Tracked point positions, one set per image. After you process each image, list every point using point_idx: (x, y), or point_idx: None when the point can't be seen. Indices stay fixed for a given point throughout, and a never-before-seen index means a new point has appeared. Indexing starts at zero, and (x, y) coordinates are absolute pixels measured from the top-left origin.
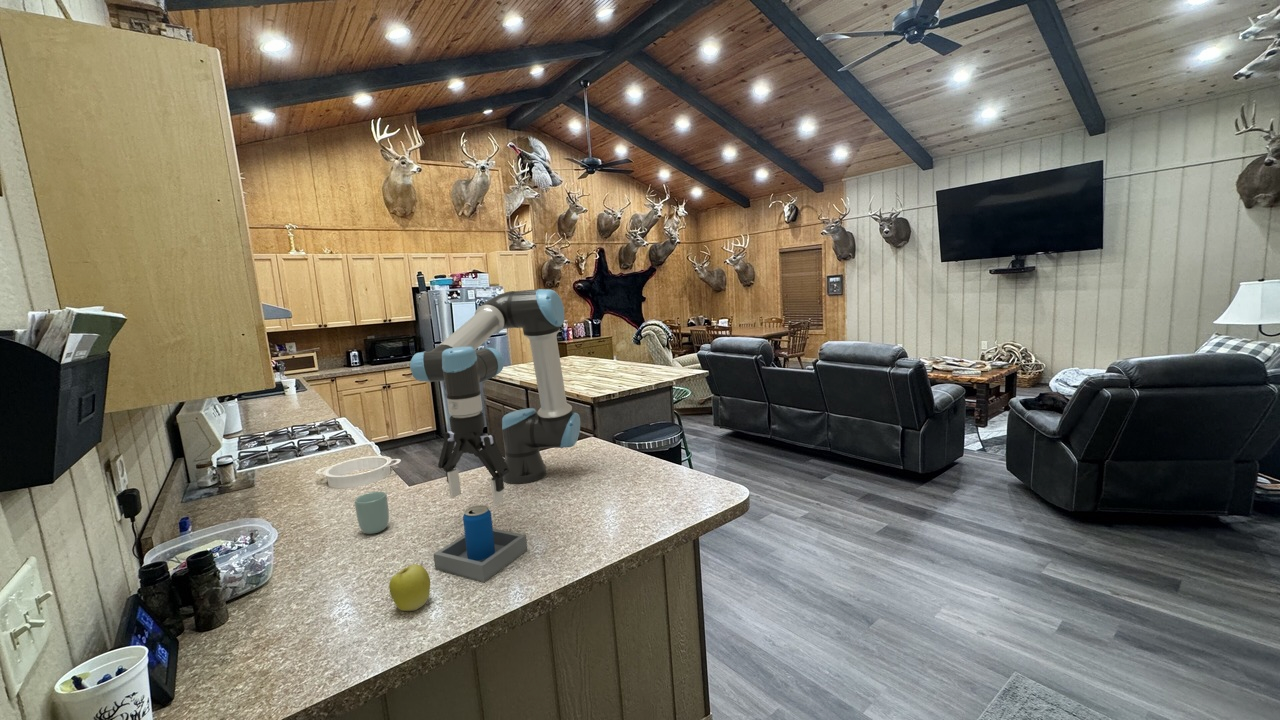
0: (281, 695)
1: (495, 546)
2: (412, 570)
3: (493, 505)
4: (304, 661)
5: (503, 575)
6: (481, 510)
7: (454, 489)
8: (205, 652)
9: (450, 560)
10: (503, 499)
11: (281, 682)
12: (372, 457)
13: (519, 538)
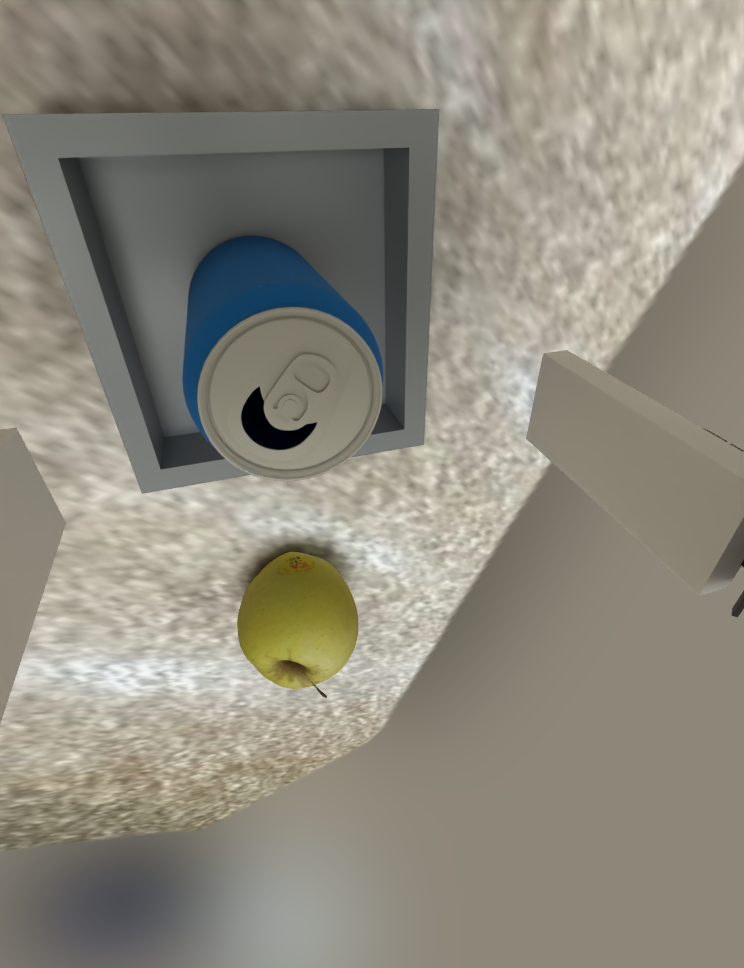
0: (320, 751)
1: (230, 181)
2: (334, 664)
3: (528, 440)
4: (266, 732)
5: (434, 349)
6: (319, 374)
7: (28, 548)
8: (49, 831)
9: None
10: (576, 357)
11: (288, 752)
12: None
13: (427, 170)
